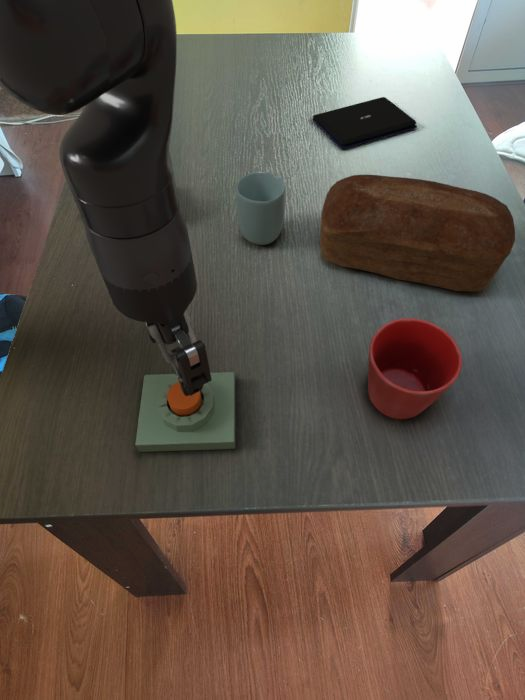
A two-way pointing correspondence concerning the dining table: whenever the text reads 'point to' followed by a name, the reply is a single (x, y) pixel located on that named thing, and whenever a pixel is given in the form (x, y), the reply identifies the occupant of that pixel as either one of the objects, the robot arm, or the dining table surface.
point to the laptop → (363, 122)
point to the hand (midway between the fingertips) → (176, 362)
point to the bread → (416, 231)
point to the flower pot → (410, 366)
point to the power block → (192, 430)
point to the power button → (183, 401)
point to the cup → (260, 206)
